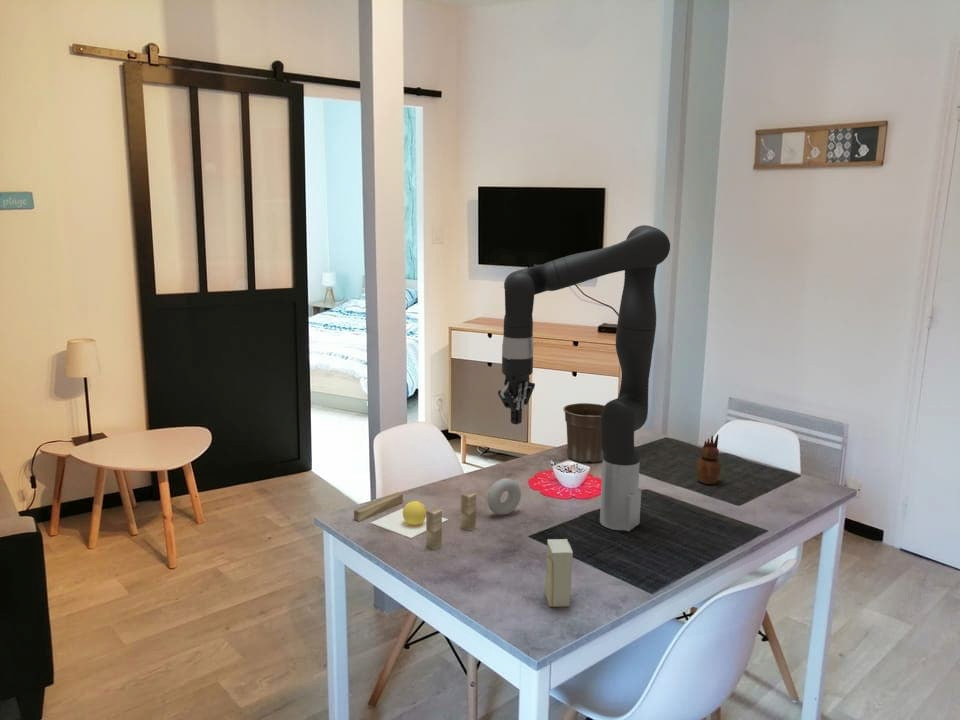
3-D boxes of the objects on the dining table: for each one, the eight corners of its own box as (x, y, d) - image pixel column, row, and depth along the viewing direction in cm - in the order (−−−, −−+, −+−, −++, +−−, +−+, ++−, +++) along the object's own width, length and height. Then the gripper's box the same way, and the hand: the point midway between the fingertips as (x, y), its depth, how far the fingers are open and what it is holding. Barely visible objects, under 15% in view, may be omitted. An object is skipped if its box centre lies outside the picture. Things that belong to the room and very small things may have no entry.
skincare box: (544, 592, 158) (546, 538, 156) (565, 591, 158) (567, 538, 156) (549, 608, 152) (551, 552, 149) (571, 607, 152) (573, 551, 150)
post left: (441, 545, 179) (441, 510, 177) (434, 549, 177) (434, 513, 175) (433, 542, 180) (433, 507, 178) (426, 546, 178) (426, 511, 176)
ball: (419, 493, 192) (409, 509, 195) (404, 500, 187) (394, 516, 190) (434, 509, 190) (424, 525, 193) (420, 517, 185) (410, 533, 188)
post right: (475, 527, 189) (476, 494, 187) (469, 531, 187) (469, 497, 185) (467, 524, 190) (467, 491, 189) (461, 528, 188) (461, 494, 187)
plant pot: (576, 446, 254) (578, 399, 250) (620, 455, 245) (623, 407, 241) (552, 458, 241) (554, 410, 237) (598, 469, 232) (600, 419, 228)
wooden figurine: (721, 481, 222) (725, 433, 219) (716, 487, 218) (720, 438, 214) (698, 477, 226) (702, 429, 223) (693, 483, 221) (696, 434, 218)
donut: (491, 520, 193) (492, 484, 191) (484, 516, 196) (484, 480, 194) (523, 512, 198) (524, 477, 196) (515, 508, 201) (516, 473, 199)
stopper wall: (402, 502, 204) (402, 493, 204) (359, 521, 192) (359, 512, 191) (397, 500, 205) (397, 492, 205) (354, 519, 193) (353, 510, 192)
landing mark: (448, 520, 193) (448, 519, 193) (411, 538, 182) (411, 537, 182) (408, 506, 202) (408, 505, 202) (370, 523, 191) (370, 522, 191)
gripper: (520, 348, 189) (518, 415, 192) (488, 356, 178) (487, 426, 182) (545, 352, 184) (543, 420, 188) (514, 361, 174) (513, 432, 178)
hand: (516, 423), depth 185 cm, fingers closed
